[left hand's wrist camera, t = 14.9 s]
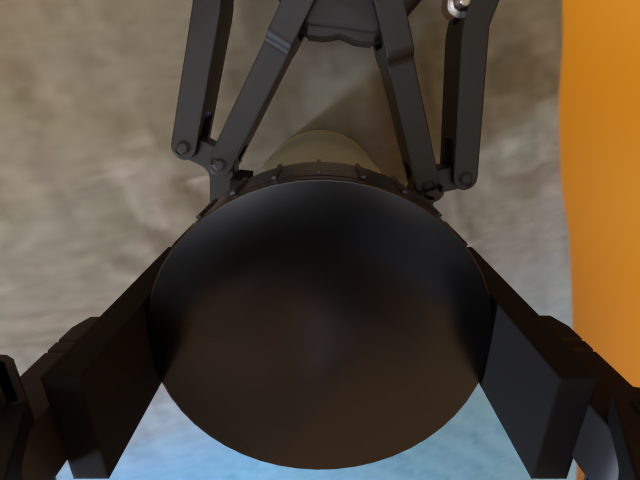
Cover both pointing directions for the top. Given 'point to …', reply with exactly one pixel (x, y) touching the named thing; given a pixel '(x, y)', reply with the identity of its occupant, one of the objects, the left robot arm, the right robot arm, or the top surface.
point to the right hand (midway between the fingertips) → (311, 288)
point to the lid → (320, 318)
